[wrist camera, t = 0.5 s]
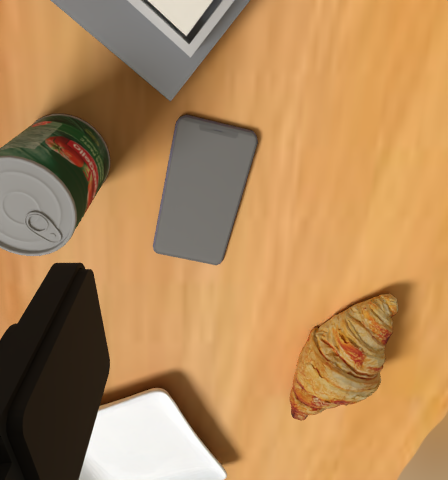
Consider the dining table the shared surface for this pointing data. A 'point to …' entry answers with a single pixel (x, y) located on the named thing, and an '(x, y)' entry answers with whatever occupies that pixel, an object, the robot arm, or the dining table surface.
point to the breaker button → (182, 12)
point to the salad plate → (147, 443)
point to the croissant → (343, 358)
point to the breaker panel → (153, 36)
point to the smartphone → (203, 188)
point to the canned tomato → (49, 183)
